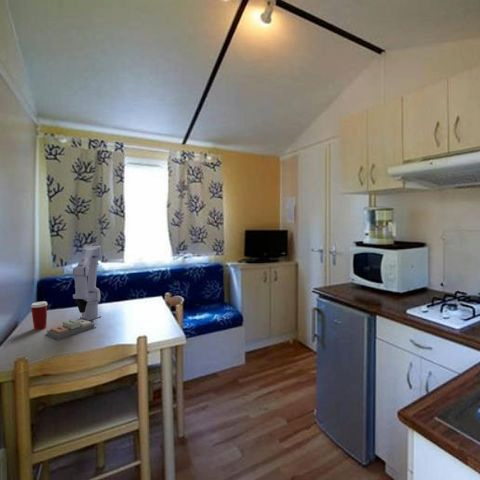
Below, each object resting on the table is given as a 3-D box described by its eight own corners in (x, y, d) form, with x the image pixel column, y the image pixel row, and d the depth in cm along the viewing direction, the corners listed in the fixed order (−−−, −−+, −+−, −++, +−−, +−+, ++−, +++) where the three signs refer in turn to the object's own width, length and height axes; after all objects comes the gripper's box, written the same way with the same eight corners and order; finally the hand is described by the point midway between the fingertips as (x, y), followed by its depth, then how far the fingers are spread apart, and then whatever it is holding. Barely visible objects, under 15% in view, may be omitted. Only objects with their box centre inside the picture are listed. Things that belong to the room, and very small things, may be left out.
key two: (62, 326, 154) (62, 321, 154) (71, 323, 158) (71, 318, 158) (71, 329, 149) (71, 324, 149) (80, 326, 153) (80, 321, 153)
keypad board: (45, 334, 149) (44, 330, 149) (83, 323, 166) (83, 319, 166) (57, 340, 142) (57, 335, 142) (96, 327, 159) (96, 323, 159)
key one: (74, 325, 159) (74, 321, 159) (82, 323, 163) (82, 318, 163) (83, 329, 154) (82, 324, 154) (91, 326, 158) (91, 321, 158)
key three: (50, 332, 149) (50, 327, 149) (59, 330, 153) (59, 325, 153) (59, 336, 144) (59, 331, 144) (68, 333, 148) (68, 328, 148)
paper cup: (51, 326, 160) (50, 301, 159) (38, 331, 153) (37, 305, 152) (41, 325, 163) (40, 300, 162) (28, 329, 156) (26, 304, 155)
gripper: (66, 287, 158) (67, 312, 159) (81, 291, 150) (82, 316, 151) (79, 285, 164) (80, 308, 165) (94, 288, 156) (95, 313, 157)
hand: (82, 312), depth 158 cm, fingers closed
